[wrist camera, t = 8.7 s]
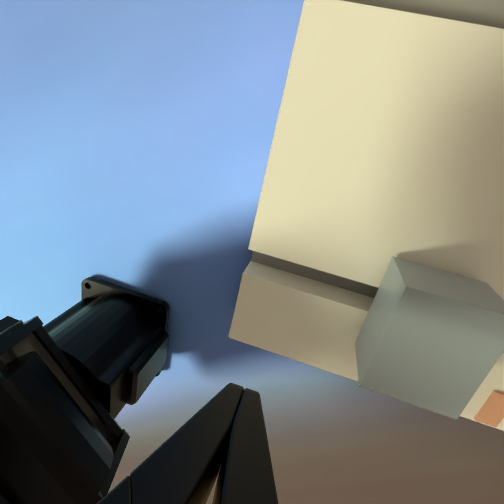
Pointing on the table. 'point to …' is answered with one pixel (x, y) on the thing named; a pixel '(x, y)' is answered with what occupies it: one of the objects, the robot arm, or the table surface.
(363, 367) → the block
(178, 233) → the table surface
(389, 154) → the console
